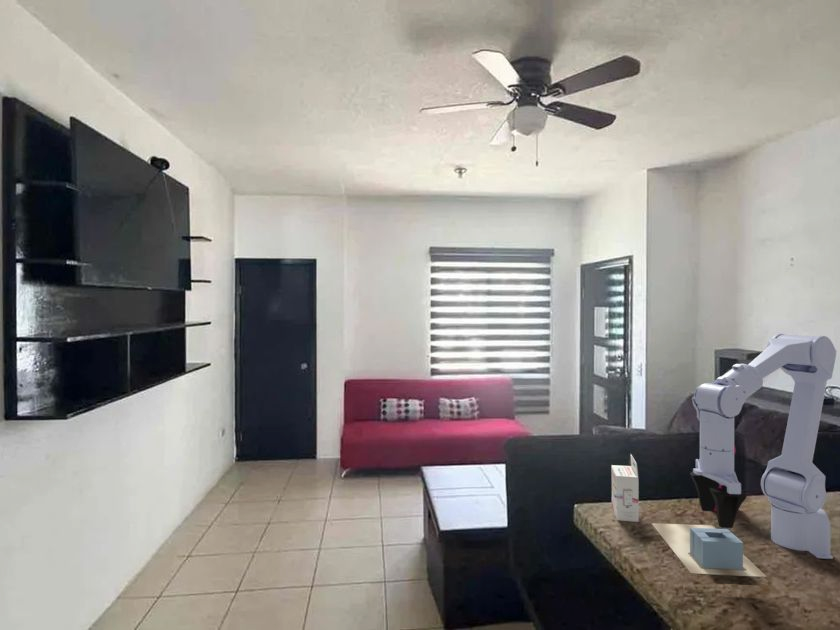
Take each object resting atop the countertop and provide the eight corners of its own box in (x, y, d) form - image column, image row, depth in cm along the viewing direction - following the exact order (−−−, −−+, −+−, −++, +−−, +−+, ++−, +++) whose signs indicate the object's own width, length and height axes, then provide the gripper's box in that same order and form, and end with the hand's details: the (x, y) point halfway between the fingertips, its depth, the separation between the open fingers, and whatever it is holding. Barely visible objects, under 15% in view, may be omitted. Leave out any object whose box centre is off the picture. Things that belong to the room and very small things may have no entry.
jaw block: (727, 554, 102) (727, 529, 102) (742, 569, 97) (743, 542, 96) (690, 552, 103) (690, 527, 103) (702, 567, 97) (702, 541, 97)
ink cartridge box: (610, 512, 128) (610, 452, 127) (632, 513, 127) (632, 453, 126) (616, 526, 119) (616, 462, 119) (639, 528, 118) (639, 463, 118)
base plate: (712, 532, 116) (712, 506, 116) (766, 585, 94) (767, 552, 94) (651, 529, 118) (651, 503, 117) (690, 581, 96) (691, 549, 96)
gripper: (680, 437, 107) (679, 503, 107) (711, 458, 93) (711, 534, 93) (716, 438, 106) (716, 504, 107) (753, 459, 92) (753, 535, 92)
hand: (716, 518), depth 100 cm, fingers open, 7 cm apart
